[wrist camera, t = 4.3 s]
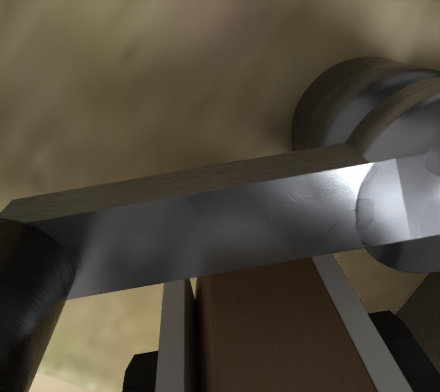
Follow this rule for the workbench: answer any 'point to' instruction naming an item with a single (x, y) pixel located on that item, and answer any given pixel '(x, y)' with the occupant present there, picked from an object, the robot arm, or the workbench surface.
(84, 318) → the workbench surface
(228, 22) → the workbench surface
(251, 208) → the crank
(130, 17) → the workbench surface
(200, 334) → the wooden block
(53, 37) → the workbench surface
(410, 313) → the stand
